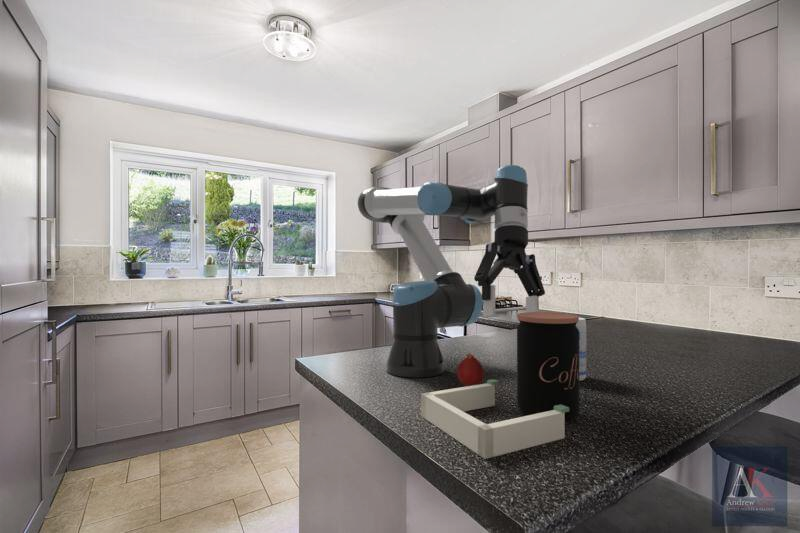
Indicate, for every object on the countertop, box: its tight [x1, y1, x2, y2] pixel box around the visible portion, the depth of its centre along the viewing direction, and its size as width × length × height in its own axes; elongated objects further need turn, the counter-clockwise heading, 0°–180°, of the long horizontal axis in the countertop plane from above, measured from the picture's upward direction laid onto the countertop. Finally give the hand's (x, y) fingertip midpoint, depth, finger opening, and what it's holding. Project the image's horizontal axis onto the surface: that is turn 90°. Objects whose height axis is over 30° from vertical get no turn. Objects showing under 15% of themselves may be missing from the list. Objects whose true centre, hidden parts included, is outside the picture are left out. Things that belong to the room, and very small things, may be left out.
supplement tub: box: [576, 316, 587, 382], centre depth 96 cm, size 10×10×15 cm
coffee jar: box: [516, 311, 581, 424], centre depth 72 cm, size 11×11×18 cm
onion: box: [456, 352, 485, 387], centre depth 86 cm, size 6×6×8 cm
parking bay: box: [420, 378, 569, 460], centre depth 66 cm, size 18×16×5 cm
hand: (511, 320), depth 85 cm, fingers open, 13 cm apart
